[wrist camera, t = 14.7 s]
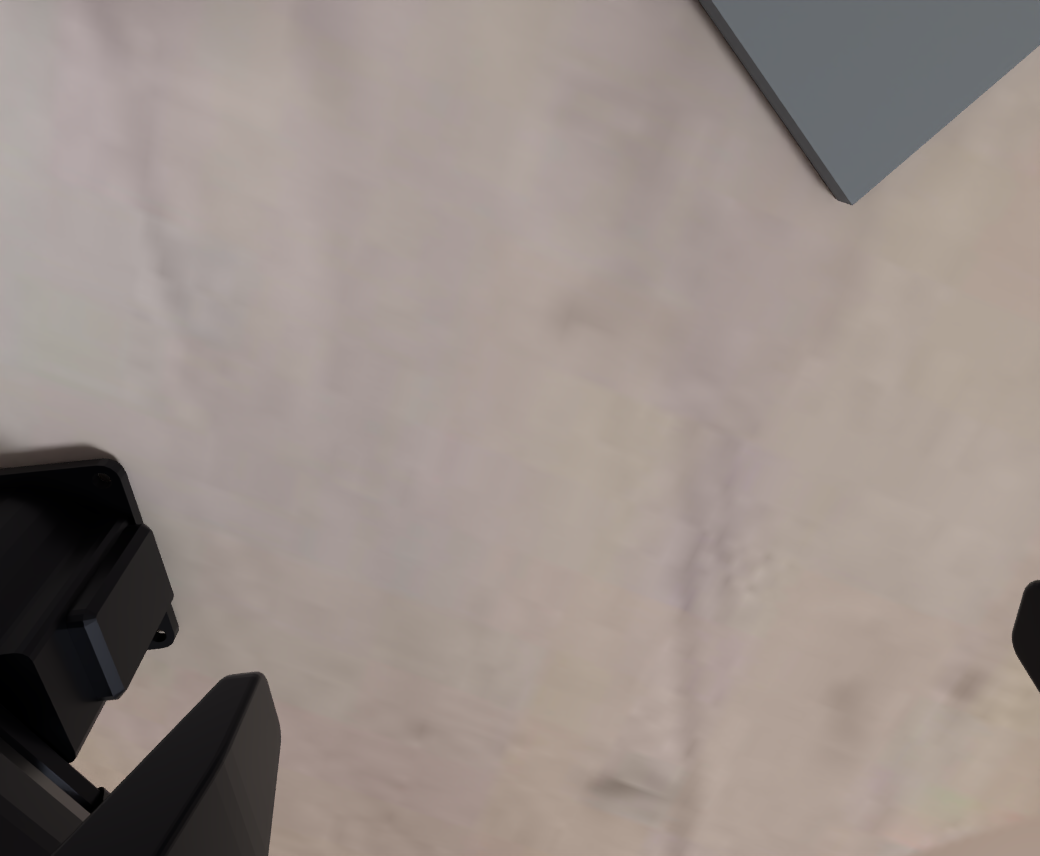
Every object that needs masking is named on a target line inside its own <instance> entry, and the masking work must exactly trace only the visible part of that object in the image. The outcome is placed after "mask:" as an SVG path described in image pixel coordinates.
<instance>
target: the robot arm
mask: <svg viewBox="0 0 1040 856" xmlns="http://www.w3.org/2000/svg"><path fill="white" fill-rule="evenodd" d="M98 473H103V474H106V475H107V476H109V477H110V479H111V480H112V482H105V481H104V480H102V479H101V478H100V477H99V475H98ZM173 597H174V594H173V591H172V588H171V585H170V582H169V579H168V576H167V573H166V570H165V567H164V564H163V561H162V558H161V555H160V553H159V550H158V547H157V544H156V541H155V538H154V535H153V532H152V530H151V529H150V528H149V527H148V526H147V525H145V524H144V523H143V520H142V517H141V515H140V512H139V509H138V506H137V503H136V500H135V497H134V494H133V491H132V488H131V485H130V482H129V479H128V477H127V474H126V471H125V470H124V468H123V466H121V465H120V464H119V463H118V462H116V461H113V460H111V459H93V460H83V461H74V462H64V463H54V464H44V465H34V466H24V467H14V468H5V469H0V856H268V852H269V843H270V835H271V826H272V817H273V808H274V799H275V790H276V781H277V772H278V764H279V755H280V745H281V730H280V724H279V720H278V716H277V713H276V709H275V706H274V702H273V699H272V695H271V692H270V688H269V685H268V682H267V679H266V677H265V676H264V674H262V673H260V672H249V673H240V674H232V675H228V676H226V677H224V678H223V679H221V680H220V681H219V682H218V683H217V684H216V685H215V686H214V687H213V688H212V689H211V690H210V691H209V692H208V693H207V694H206V695H205V697H204V698H203V699H202V700H201V701H200V702H199V703H198V704H197V705H196V706H195V707H194V708H193V709H192V710H191V711H190V712H189V713H188V714H187V715H186V716H185V717H184V718H183V719H182V720H181V721H180V722H179V723H178V724H177V725H176V726H175V727H174V729H173V730H172V731H171V732H170V733H169V734H168V735H167V736H166V737H165V738H164V739H163V740H162V741H161V742H160V743H159V744H158V745H157V746H156V747H155V748H154V749H153V750H152V751H151V752H150V753H149V754H148V755H147V756H146V757H145V758H144V759H143V760H142V762H141V763H140V764H139V765H138V766H137V767H136V768H135V769H134V770H133V771H132V772H131V773H130V774H129V775H128V776H127V777H126V778H125V779H124V780H123V781H122V782H121V783H120V784H119V785H118V786H117V787H116V788H115V789H114V790H113V791H112V792H111V793H109V792H108V791H107V790H106V789H105V788H104V787H99V788H96V787H95V786H94V785H93V784H92V783H91V782H90V781H88V780H87V779H86V778H85V777H84V776H83V775H82V774H80V773H79V772H78V771H77V770H76V769H75V768H74V767H72V766H71V765H70V764H69V763H71V762H73V761H74V760H75V758H76V757H77V755H78V753H79V751H80V749H81V747H82V746H83V744H84V742H85V740H86V738H87V736H88V734H89V732H90V730H91V729H92V727H93V725H94V723H95V721H96V719H97V717H98V715H99V714H100V712H101V710H102V708H103V706H104V704H105V702H106V701H107V700H116V699H119V698H120V697H121V696H122V695H123V693H124V692H125V691H126V690H127V688H128V686H129V684H130V682H131V680H132V678H133V676H134V674H135V672H136V670H137V669H138V667H139V665H140V663H141V661H142V659H143V657H144V655H145V653H146V651H147V650H151V649H160V648H165V647H168V646H170V645H171V644H172V643H173V641H174V639H175V637H176V635H177V633H178V631H179V626H178V622H177V620H176V617H175V614H174V611H173V608H172V605H171V602H172V600H173ZM157 629H159V630H162V631H164V632H165V633H159V632H157ZM1012 643H1013V647H1014V650H1015V653H1016V655H1017V657H1018V658H1019V660H1020V662H1021V663H1022V665H1023V666H1024V668H1025V670H1026V671H1027V673H1028V675H1029V676H1030V678H1031V679H1032V681H1033V683H1034V684H1035V686H1036V688H1037V689H1038V691H1039V692H1040V580H1036V581H1033V582H1031V583H1029V584H1028V586H1027V587H1026V588H1025V590H1024V592H1023V596H1022V599H1021V603H1020V606H1019V610H1018V613H1017V617H1016V620H1015V624H1014V627H1013V631H1012Z"/></svg>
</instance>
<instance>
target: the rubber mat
mask: <svg viewBox="0 0 1040 856" xmlns="http://www.w3.org/2000/svg"><path fill="white" fill-rule="evenodd" d="M699 2H700V3H701V4H702V6H703V7H704V9H705V10H706V12H707V13H708V15H709V16H710V17H711V19H712V20H713V22H714V23H715V25H716V26H717V28H718V29H719V30H720V32H721V33H722V35H723V36H724V38H725V39H726V40H727V42H728V43H729V45H730V46H731V48H732V49H733V51H734V52H735V53H736V55H737V56H738V58H739V59H740V61H741V62H742V64H743V65H744V66H745V68H746V69H747V71H748V72H749V74H750V75H751V76H752V78H753V79H754V81H755V82H756V84H757V85H758V87H759V88H760V89H761V91H762V92H763V94H764V95H765V97H766V98H767V99H768V101H769V102H770V104H771V105H772V107H773V108H774V110H775V111H776V112H777V114H778V115H779V117H780V118H781V120H782V121H783V123H784V124H785V125H786V127H787V128H788V130H789V131H790V133H791V134H792V135H793V137H794V138H795V140H796V141H797V143H798V144H799V146H800V147H801V148H802V150H803V151H804V153H805V154H806V156H807V157H808V159H809V160H810V161H811V163H812V164H813V166H814V167H815V169H816V170H817V171H818V173H819V174H820V176H821V177H822V179H823V180H824V182H825V183H826V184H827V186H828V187H829V189H830V190H831V192H832V193H833V194H834V196H835V197H836V199H837V200H838V201H841V202H844V203H847V204H850V205H853V204H855V203H856V202H857V201H858V200H859V199H860V198H862V197H863V196H864V195H865V194H866V193H867V192H869V191H870V190H871V189H872V188H873V187H874V186H876V185H877V184H878V183H879V182H880V181H881V180H883V179H884V178H885V177H886V176H887V175H888V174H890V173H891V172H892V171H893V170H894V169H895V168H897V167H898V166H899V165H900V164H901V163H903V162H904V161H905V160H906V159H907V158H908V157H910V156H911V155H912V154H913V153H914V152H915V151H917V150H918V149H919V148H920V147H921V146H922V145H924V144H925V143H926V142H927V141H928V140H929V139H931V138H932V137H933V136H934V135H935V134H936V133H938V132H939V131H940V130H941V129H942V128H943V127H945V126H946V125H947V124H948V123H949V122H950V121H952V120H953V119H954V118H955V117H956V116H957V115H959V114H960V113H961V112H962V111H963V110H964V109H966V108H967V107H968V106H969V105H970V104H971V103H973V102H974V101H975V100H976V99H977V98H978V97H980V96H981V95H982V94H983V93H984V92H985V91H987V90H988V89H989V88H990V87H991V86H993V85H994V84H995V83H996V82H997V81H998V80H1000V79H1001V78H1002V77H1003V76H1004V75H1005V74H1007V73H1008V72H1009V71H1010V70H1011V69H1012V68H1014V67H1015V66H1016V65H1017V64H1018V63H1019V62H1021V61H1022V60H1023V59H1024V58H1025V57H1026V56H1028V55H1029V54H1030V53H1031V52H1032V51H1033V50H1035V49H1036V48H1037V47H1038V46H1039V45H1040V0H699Z"/></svg>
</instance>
